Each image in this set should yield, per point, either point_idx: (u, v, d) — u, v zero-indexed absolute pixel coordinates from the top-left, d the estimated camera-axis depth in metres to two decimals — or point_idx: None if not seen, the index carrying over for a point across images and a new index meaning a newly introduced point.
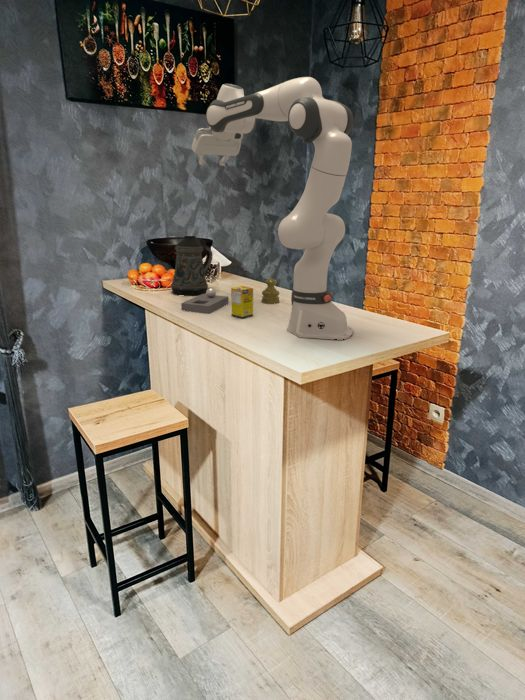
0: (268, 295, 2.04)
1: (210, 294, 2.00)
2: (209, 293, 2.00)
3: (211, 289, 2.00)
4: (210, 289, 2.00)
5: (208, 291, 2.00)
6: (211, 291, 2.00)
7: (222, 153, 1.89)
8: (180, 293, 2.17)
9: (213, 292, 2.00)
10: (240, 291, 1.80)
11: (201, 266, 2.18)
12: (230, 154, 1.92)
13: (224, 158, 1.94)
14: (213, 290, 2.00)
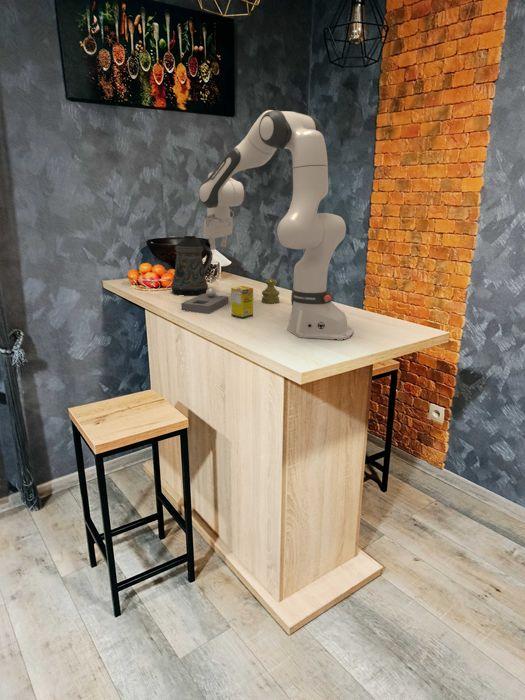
0: (268, 295, 2.04)
1: (210, 294, 2.00)
2: (209, 293, 2.00)
3: (211, 289, 2.00)
4: (210, 289, 2.00)
5: (208, 291, 2.00)
6: (211, 291, 2.00)
7: (224, 234, 2.03)
8: (180, 293, 2.17)
9: (213, 292, 2.00)
10: (240, 291, 1.80)
11: (201, 266, 2.18)
12: (228, 234, 2.06)
13: (224, 240, 2.07)
14: (213, 290, 2.00)
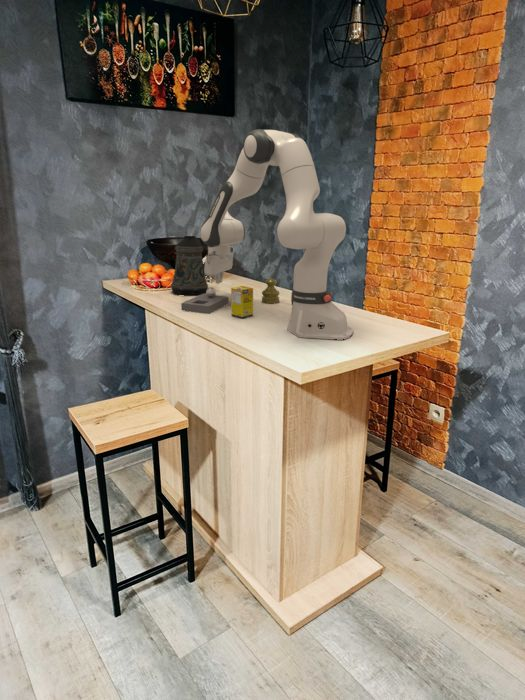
0: (268, 295, 2.04)
1: (210, 294, 2.00)
2: (209, 293, 2.00)
3: (211, 289, 2.00)
4: (210, 289, 2.00)
5: (208, 291, 2.00)
6: (211, 291, 2.00)
7: (225, 269, 2.08)
8: (180, 293, 2.17)
9: (213, 292, 2.00)
10: (240, 291, 1.80)
11: (201, 266, 2.18)
12: (229, 268, 2.11)
13: (220, 275, 2.08)
14: (213, 290, 2.00)
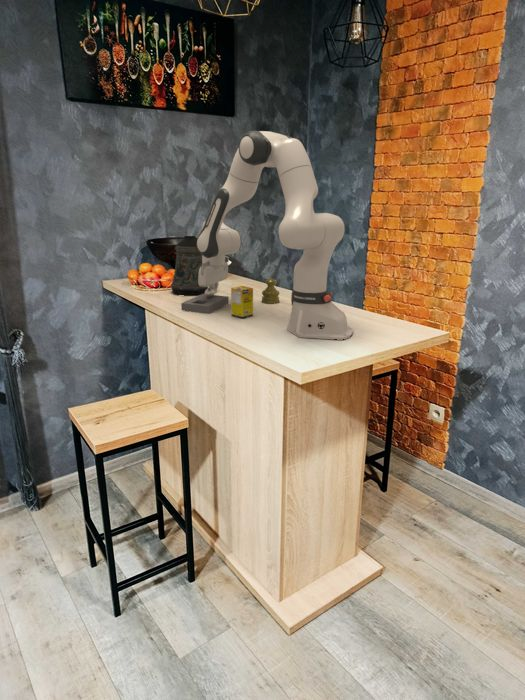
0: (268, 295, 2.04)
1: (209, 297, 2.00)
2: (208, 296, 1.99)
3: (209, 292, 1.98)
4: (208, 292, 1.99)
5: (206, 294, 1.99)
6: (210, 294, 1.99)
7: (219, 279, 2.03)
8: (180, 293, 2.17)
9: (212, 294, 1.99)
10: (240, 291, 1.80)
11: None
12: (224, 278, 2.07)
13: (215, 286, 2.04)
14: (211, 292, 1.99)
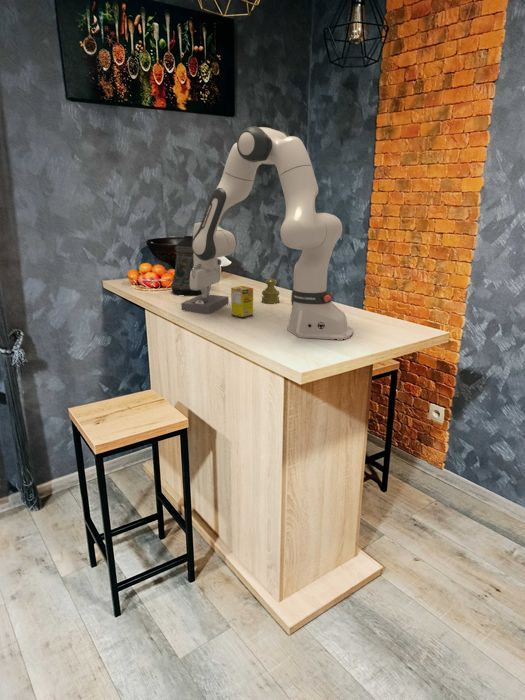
0: (268, 295, 2.04)
1: None
2: None
3: (200, 300, 1.93)
4: (199, 300, 1.93)
5: (197, 302, 1.92)
6: (201, 302, 1.92)
7: (212, 282, 1.97)
8: (180, 293, 2.17)
9: (202, 303, 1.92)
10: (240, 291, 1.80)
11: None
12: (216, 281, 2.01)
13: (207, 289, 1.98)
14: (202, 302, 1.93)
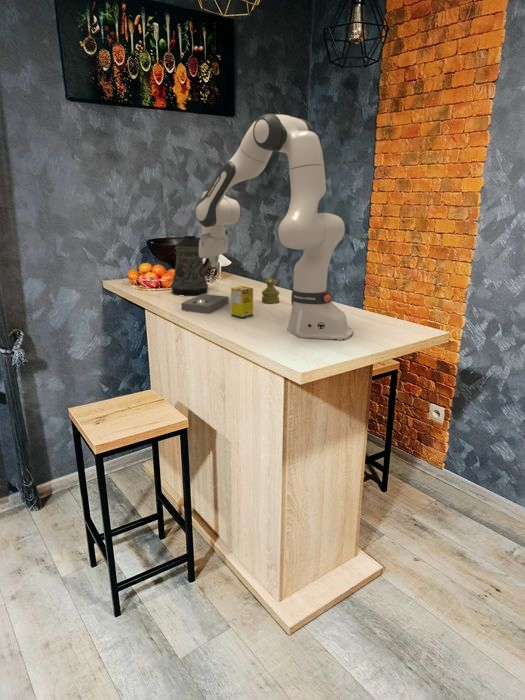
0: (268, 295, 2.04)
1: (200, 302, 1.93)
2: (200, 301, 1.93)
3: (203, 300, 1.95)
4: None
5: (199, 299, 1.94)
6: (203, 300, 1.94)
7: (220, 252, 2.00)
8: (180, 293, 2.17)
9: (204, 302, 1.94)
10: (240, 291, 1.80)
11: (201, 266, 2.18)
12: (224, 252, 2.04)
13: (215, 259, 2.01)
14: (204, 301, 1.94)
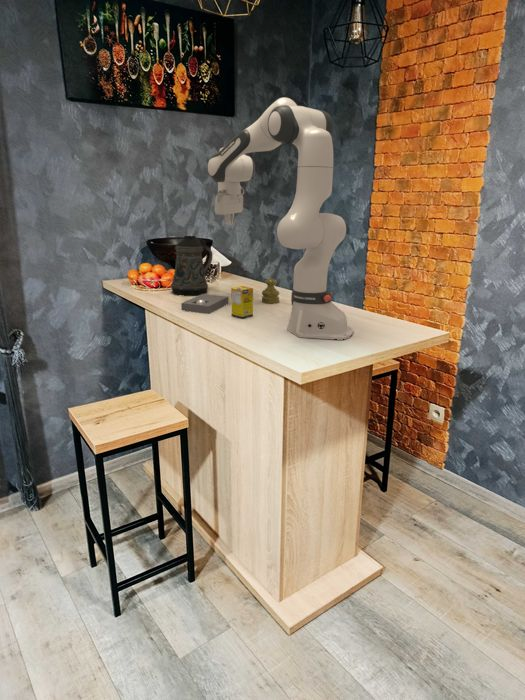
0: (268, 295, 2.04)
1: (200, 302, 1.93)
2: (200, 301, 1.93)
3: (203, 300, 1.94)
4: None
5: (199, 299, 1.94)
6: (203, 300, 1.94)
7: (235, 211, 2.02)
8: (180, 293, 2.17)
9: (204, 302, 1.94)
10: (240, 291, 1.80)
11: (201, 266, 2.18)
12: (239, 211, 2.06)
13: (230, 218, 2.03)
14: (204, 301, 1.94)
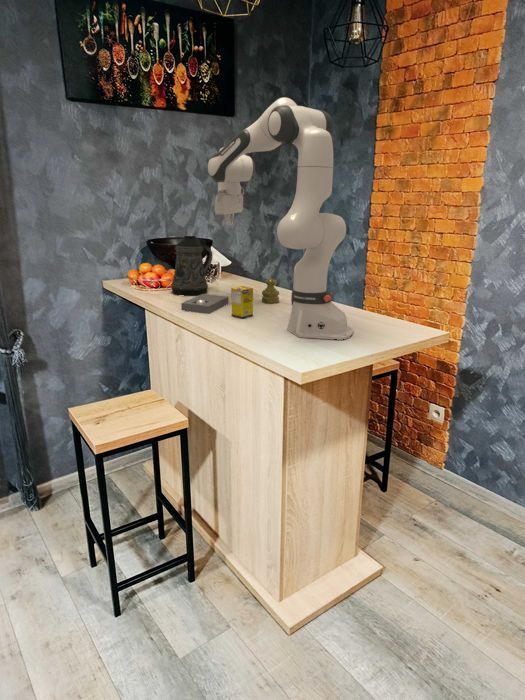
0: (268, 295, 2.04)
1: (200, 302, 1.93)
2: (200, 301, 1.93)
3: (203, 300, 1.94)
4: None
5: (199, 299, 1.94)
6: (203, 300, 1.94)
7: (235, 211, 2.02)
8: (180, 293, 2.17)
9: (204, 302, 1.94)
10: (240, 291, 1.80)
11: (201, 266, 2.18)
12: (239, 211, 2.06)
13: (230, 218, 2.03)
14: (204, 301, 1.94)
